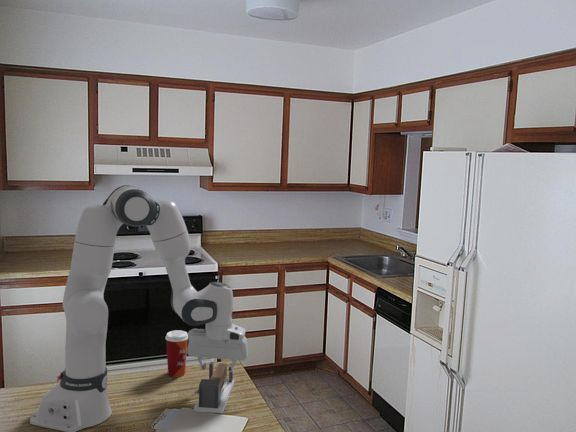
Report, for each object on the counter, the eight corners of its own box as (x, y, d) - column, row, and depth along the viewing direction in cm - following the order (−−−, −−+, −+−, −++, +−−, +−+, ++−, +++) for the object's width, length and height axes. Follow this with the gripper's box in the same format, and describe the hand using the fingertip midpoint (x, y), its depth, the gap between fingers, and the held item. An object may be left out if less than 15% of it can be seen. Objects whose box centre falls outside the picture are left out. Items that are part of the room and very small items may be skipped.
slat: (209, 395, 160) (209, 381, 160) (218, 376, 174) (218, 363, 174) (218, 396, 160) (218, 381, 159) (226, 377, 174) (227, 363, 173)
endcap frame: (193, 411, 153) (194, 383, 152) (208, 382, 173) (209, 357, 172) (222, 413, 153) (223, 385, 151) (234, 383, 172) (234, 359, 171)
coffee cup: (185, 379, 175) (186, 338, 173) (162, 378, 175) (162, 337, 173) (190, 368, 183) (190, 329, 181) (168, 368, 183) (168, 329, 181)
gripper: (185, 331, 162) (184, 371, 164) (247, 336, 161) (245, 376, 162) (190, 324, 168) (189, 363, 170) (250, 329, 167) (248, 368, 169)
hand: (217, 370), depth 166 cm, fingers open, 8 cm apart
